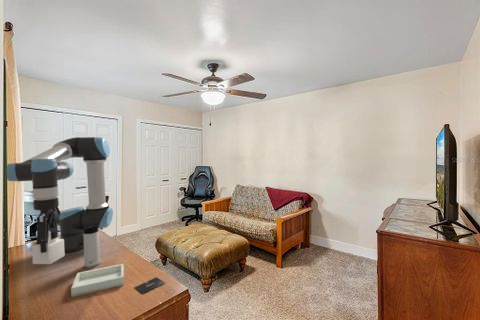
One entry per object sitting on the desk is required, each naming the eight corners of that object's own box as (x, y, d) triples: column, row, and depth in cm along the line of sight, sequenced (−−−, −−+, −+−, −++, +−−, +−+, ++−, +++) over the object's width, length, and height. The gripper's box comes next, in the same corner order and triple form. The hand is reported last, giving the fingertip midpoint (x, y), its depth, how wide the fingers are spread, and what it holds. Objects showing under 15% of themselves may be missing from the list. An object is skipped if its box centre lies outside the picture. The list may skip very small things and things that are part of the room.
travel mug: (93, 269, 112) (91, 227, 111) (81, 267, 113) (79, 227, 112) (103, 262, 118) (101, 223, 117) (92, 261, 119) (90, 223, 118)
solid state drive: (134, 288, 95) (134, 287, 95) (156, 278, 103) (156, 277, 103) (142, 295, 91) (142, 293, 91) (165, 284, 99) (165, 282, 99)
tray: (77, 280, 102) (77, 272, 101) (124, 270, 109) (123, 263, 109) (71, 297, 90) (71, 288, 90) (123, 285, 98) (123, 276, 98)
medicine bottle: (48, 255, 96) (46, 226, 95) (65, 255, 96) (63, 226, 95) (32, 264, 89) (30, 233, 88) (50, 264, 88) (48, 233, 88)
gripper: (42, 194, 99) (45, 246, 100) (22, 205, 79) (25, 269, 80) (64, 192, 102) (67, 242, 104) (49, 202, 83) (53, 264, 84)
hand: (49, 254), depth 92 cm, fingers closed on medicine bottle, 9 cm apart
